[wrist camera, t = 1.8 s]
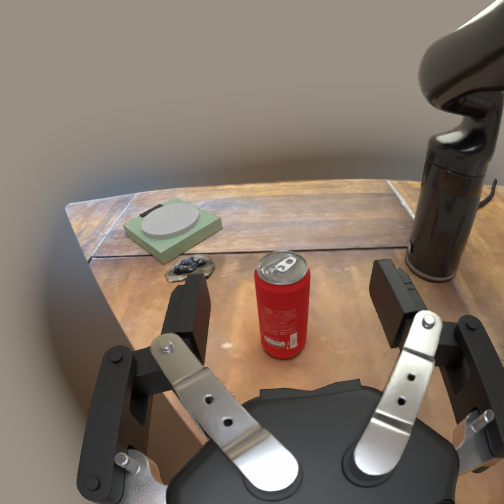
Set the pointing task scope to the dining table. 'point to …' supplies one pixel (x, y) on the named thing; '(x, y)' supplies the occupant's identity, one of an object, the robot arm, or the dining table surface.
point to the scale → (172, 228)
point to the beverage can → (282, 302)
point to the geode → (190, 267)
